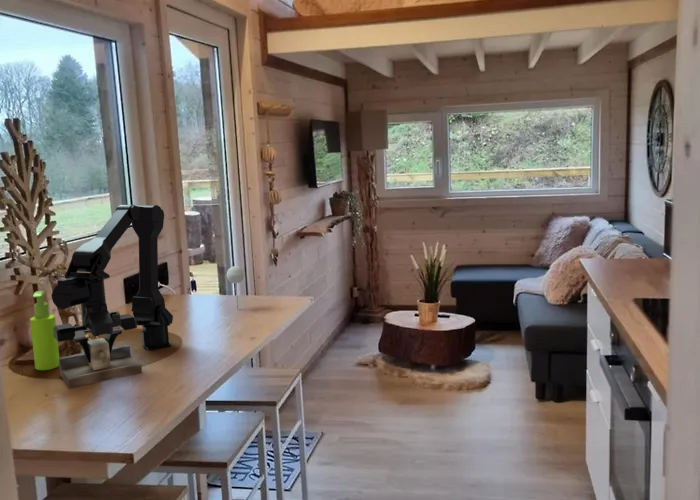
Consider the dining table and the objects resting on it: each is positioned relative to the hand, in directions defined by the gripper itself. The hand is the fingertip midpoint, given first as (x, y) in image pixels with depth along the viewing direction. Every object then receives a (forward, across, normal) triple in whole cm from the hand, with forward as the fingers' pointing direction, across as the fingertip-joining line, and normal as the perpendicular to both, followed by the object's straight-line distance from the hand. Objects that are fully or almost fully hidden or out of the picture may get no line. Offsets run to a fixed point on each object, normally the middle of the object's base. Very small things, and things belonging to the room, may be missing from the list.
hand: (98, 360), depth 166 cm
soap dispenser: (+4, -10, +14) cm, 17 cm away
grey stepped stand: (+3, 0, -1) cm, 3 cm away
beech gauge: (+1, 0, -1) cm, 2 cm away
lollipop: (+3, +54, +37) cm, 65 cm away
